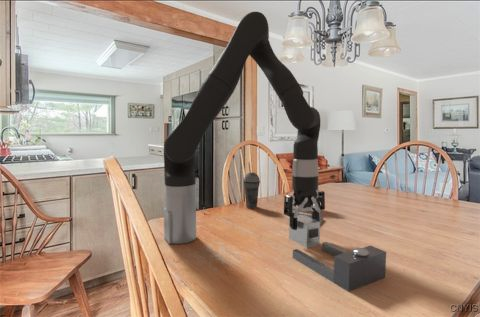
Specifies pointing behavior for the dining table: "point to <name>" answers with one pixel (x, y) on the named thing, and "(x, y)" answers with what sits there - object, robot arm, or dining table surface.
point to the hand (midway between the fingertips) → (304, 226)
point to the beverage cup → (251, 189)
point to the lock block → (305, 231)
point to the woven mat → (311, 217)
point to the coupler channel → (348, 265)
